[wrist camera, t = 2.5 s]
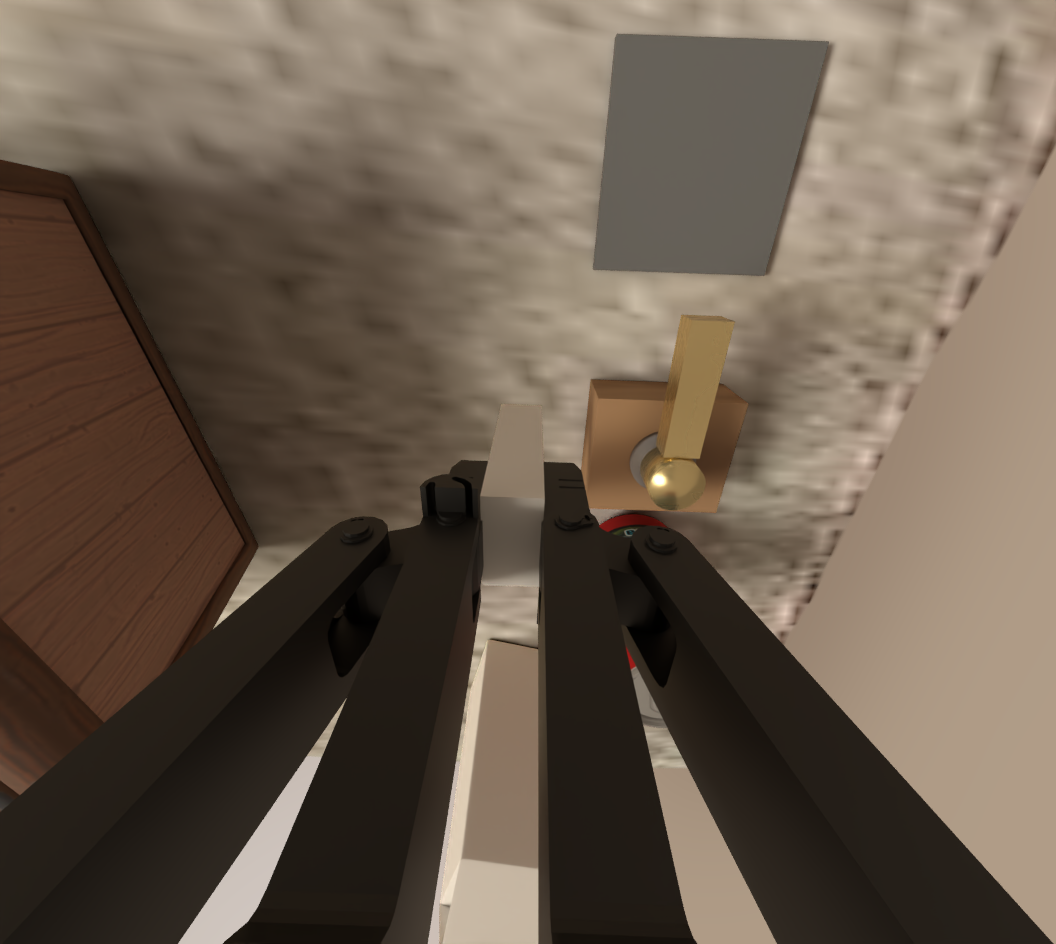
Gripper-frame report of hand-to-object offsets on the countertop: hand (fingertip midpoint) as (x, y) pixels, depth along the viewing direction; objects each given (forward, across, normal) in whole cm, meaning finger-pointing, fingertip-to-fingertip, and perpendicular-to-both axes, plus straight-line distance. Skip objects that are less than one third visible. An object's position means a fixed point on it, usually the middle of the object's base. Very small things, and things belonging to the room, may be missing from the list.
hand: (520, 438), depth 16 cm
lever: (+6, +8, -1) cm, 10 cm away
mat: (+10, +8, +10) cm, 16 cm away
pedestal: (+10, +8, -4) cm, 14 cm away
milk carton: (+11, 0, -28) cm, 30 cm away
